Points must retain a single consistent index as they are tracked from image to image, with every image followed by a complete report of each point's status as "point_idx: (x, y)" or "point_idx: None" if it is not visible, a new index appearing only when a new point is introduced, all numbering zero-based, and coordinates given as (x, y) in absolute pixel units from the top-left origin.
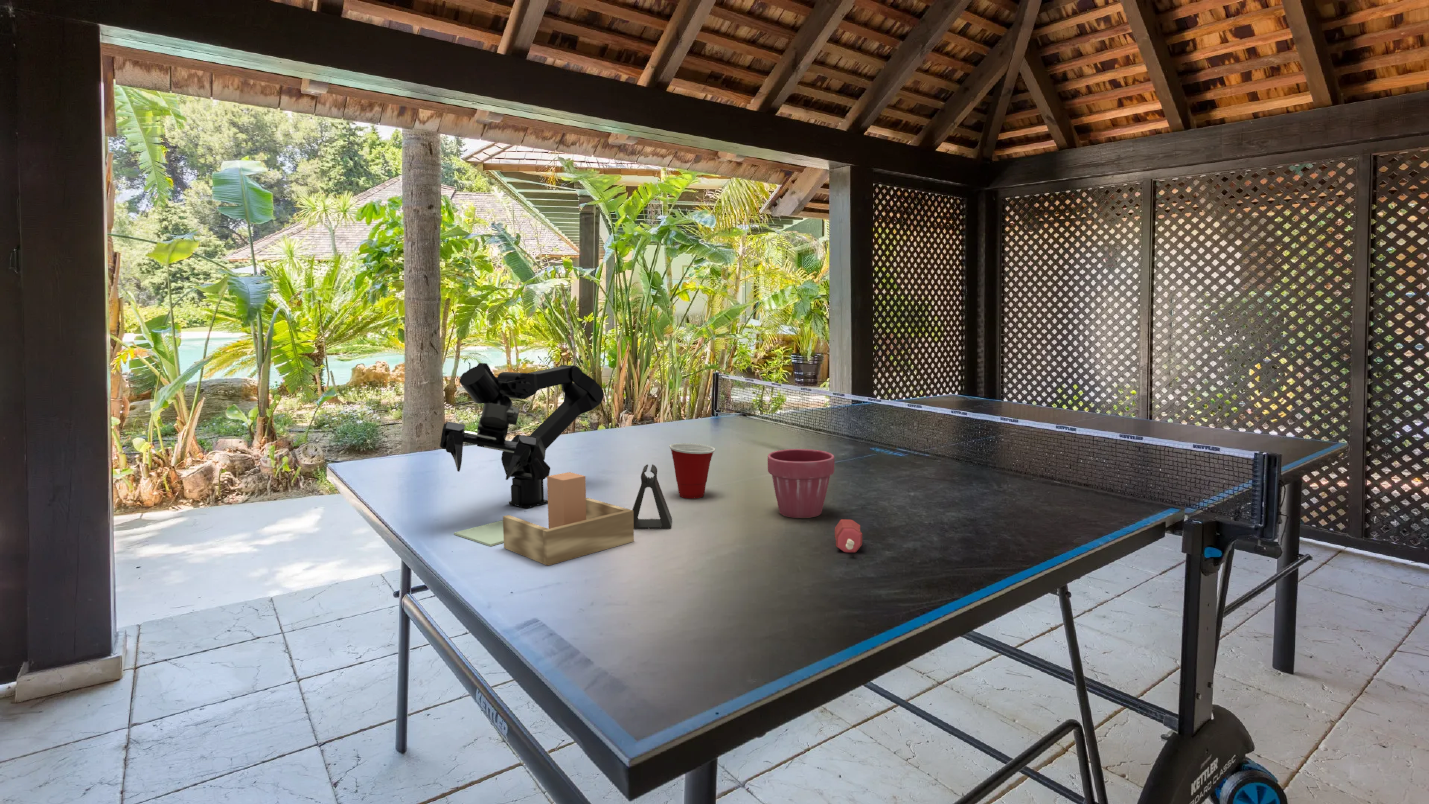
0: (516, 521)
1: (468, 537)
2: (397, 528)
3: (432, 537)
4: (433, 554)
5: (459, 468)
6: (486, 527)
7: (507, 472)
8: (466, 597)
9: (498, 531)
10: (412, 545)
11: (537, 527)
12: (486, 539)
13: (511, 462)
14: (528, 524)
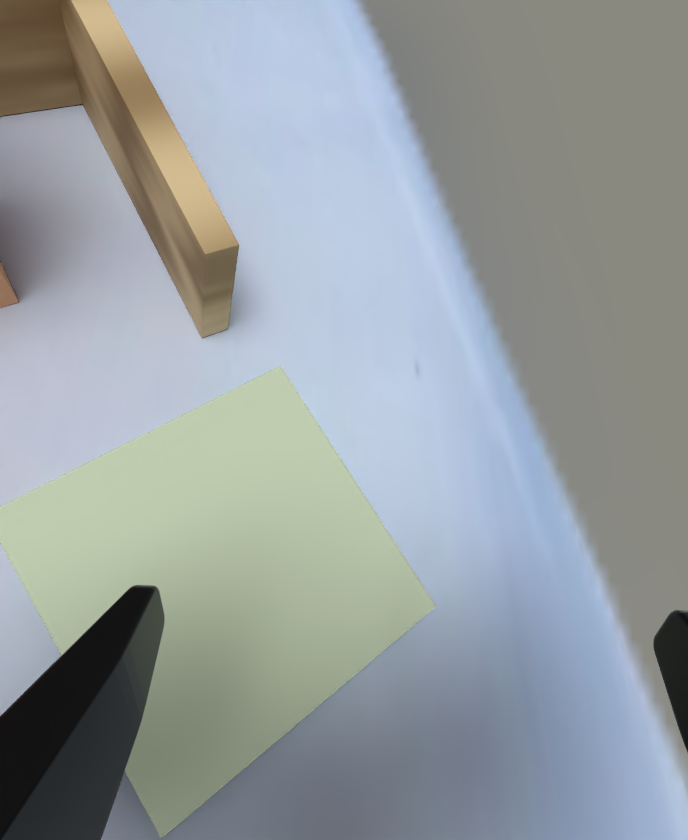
0: (180, 136)
1: (369, 504)
2: (680, 801)
3: (512, 590)
4: (475, 360)
5: (679, 611)
6: (286, 660)
7: (132, 621)
8: (356, 4)
9: (230, 560)
10: (561, 496)
11: (98, 2)
12: (294, 442)
13: (7, 797)
14: (131, 58)
